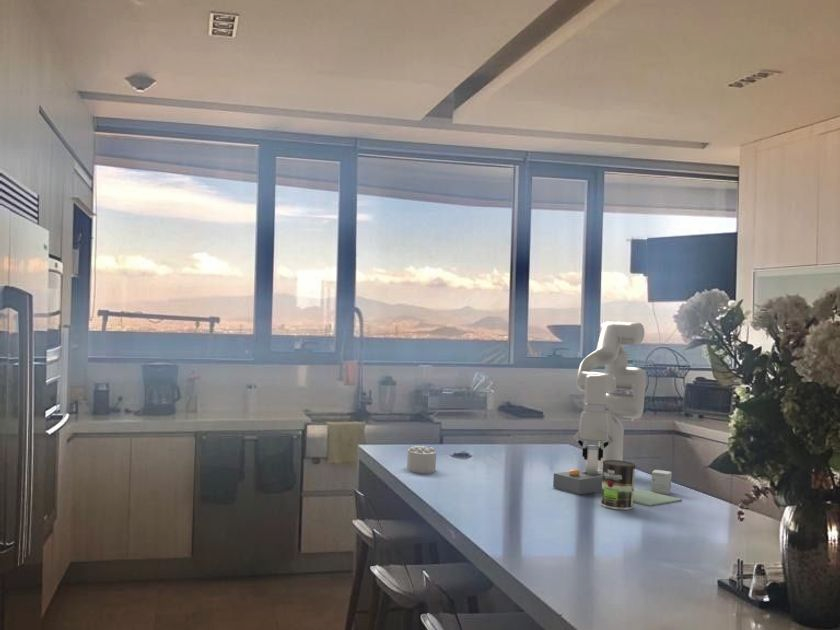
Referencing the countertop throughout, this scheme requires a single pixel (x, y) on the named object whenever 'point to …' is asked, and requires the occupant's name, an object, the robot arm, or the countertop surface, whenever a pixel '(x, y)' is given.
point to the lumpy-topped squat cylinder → (421, 459)
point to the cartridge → (592, 460)
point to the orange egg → (574, 472)
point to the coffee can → (618, 484)
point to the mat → (652, 498)
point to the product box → (661, 481)
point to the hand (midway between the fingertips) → (592, 458)
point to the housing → (578, 482)
